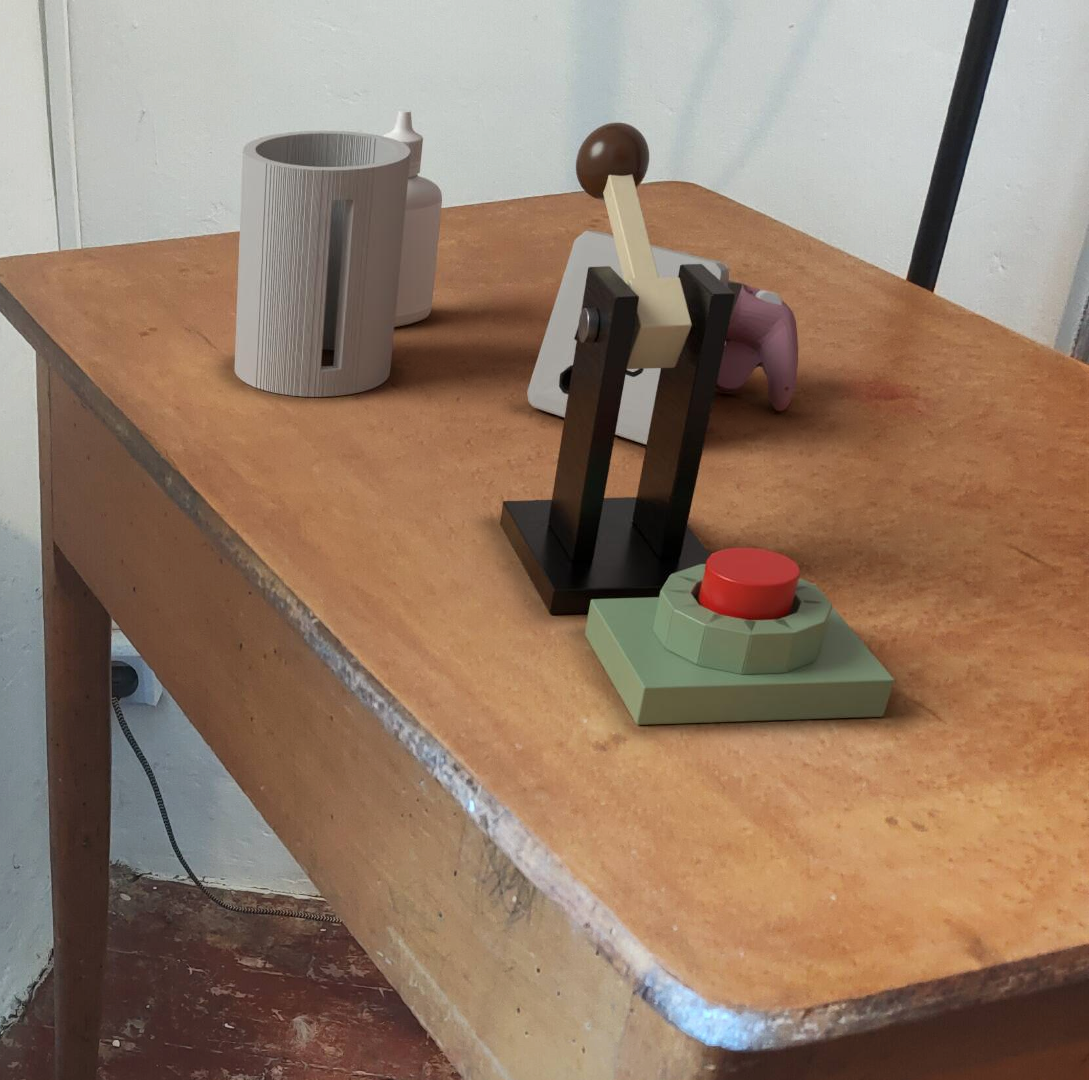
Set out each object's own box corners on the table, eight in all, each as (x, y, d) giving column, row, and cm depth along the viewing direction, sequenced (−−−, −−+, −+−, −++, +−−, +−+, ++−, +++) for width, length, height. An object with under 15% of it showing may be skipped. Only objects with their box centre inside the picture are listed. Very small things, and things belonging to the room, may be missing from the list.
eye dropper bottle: (434, 331, 108) (456, 119, 101) (343, 330, 109) (358, 119, 101) (428, 309, 112) (449, 102, 104) (340, 308, 112) (355, 103, 105)
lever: (562, 169, 81) (580, 107, 78) (631, 167, 81) (651, 105, 78) (610, 377, 75) (631, 319, 73) (683, 375, 76) (707, 317, 73)
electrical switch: (520, 408, 98) (556, 231, 92) (578, 396, 101) (616, 223, 95) (659, 456, 92) (706, 269, 87) (716, 441, 95) (765, 260, 89)
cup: (322, 335, 108) (337, 123, 101) (421, 375, 102) (445, 153, 95) (204, 364, 104) (210, 145, 97) (300, 407, 98) (314, 178, 91)
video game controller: (780, 420, 100) (799, 290, 98) (797, 409, 95) (818, 273, 94) (602, 411, 101) (618, 283, 100) (611, 400, 97) (628, 266, 95)
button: (772, 585, 72) (782, 545, 71) (803, 624, 70) (814, 583, 69) (686, 587, 72) (695, 548, 71) (714, 627, 70) (723, 586, 68)
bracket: (499, 524, 85) (537, 249, 77) (661, 519, 85) (716, 244, 78) (549, 615, 78) (598, 319, 70) (728, 609, 78) (796, 313, 70)
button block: (811, 627, 76) (831, 551, 74) (883, 717, 70) (908, 637, 68) (584, 634, 76) (597, 559, 74) (636, 725, 70) (652, 645, 68)
